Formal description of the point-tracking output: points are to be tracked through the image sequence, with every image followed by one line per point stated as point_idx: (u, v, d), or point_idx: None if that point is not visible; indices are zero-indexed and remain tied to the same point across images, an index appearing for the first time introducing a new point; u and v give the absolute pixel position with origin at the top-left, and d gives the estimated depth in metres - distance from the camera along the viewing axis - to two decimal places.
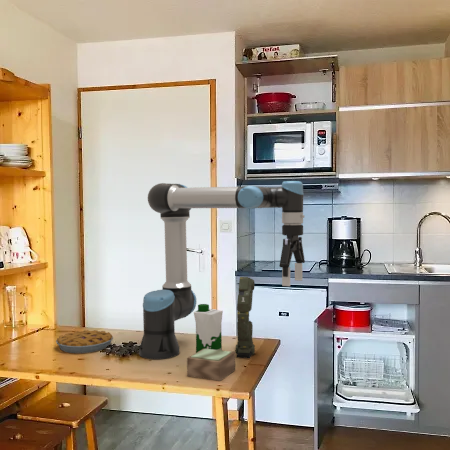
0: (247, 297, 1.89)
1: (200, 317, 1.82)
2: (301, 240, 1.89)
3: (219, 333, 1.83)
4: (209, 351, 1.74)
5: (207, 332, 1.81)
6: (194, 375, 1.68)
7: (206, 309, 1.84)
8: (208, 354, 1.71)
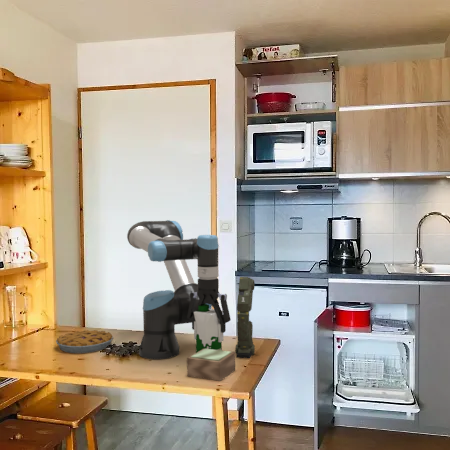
0: (247, 297, 1.89)
1: (200, 317, 1.82)
2: (222, 299, 1.81)
3: None
4: (209, 351, 1.74)
5: (207, 332, 1.81)
6: (194, 375, 1.68)
7: (206, 309, 1.84)
8: (208, 354, 1.71)
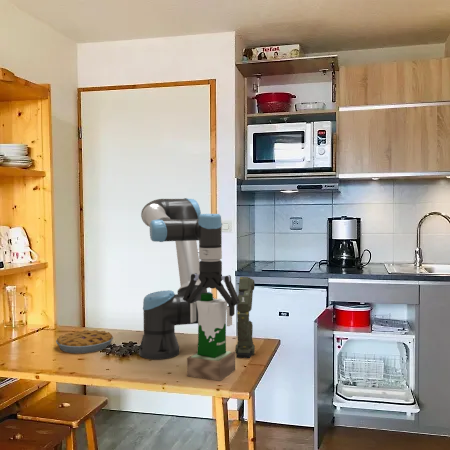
0: (247, 297, 1.89)
1: (203, 306, 1.68)
2: (227, 280, 1.66)
3: (223, 324, 1.68)
4: None
5: (211, 323, 1.66)
6: (194, 375, 1.68)
7: (210, 298, 1.70)
8: None
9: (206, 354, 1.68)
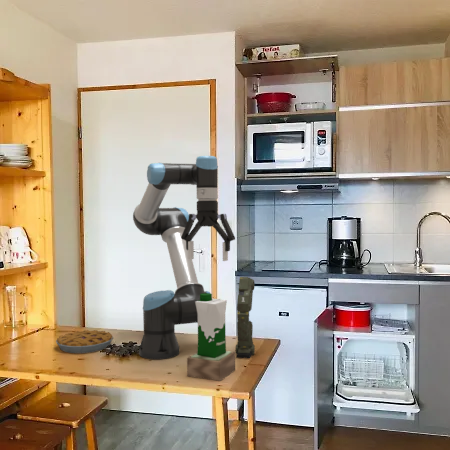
0: (247, 297, 1.89)
1: (202, 306, 1.68)
2: (222, 217, 1.77)
3: (222, 324, 1.68)
4: None
5: (210, 323, 1.67)
6: (194, 375, 1.68)
7: (209, 298, 1.70)
8: None
9: (206, 354, 1.68)
